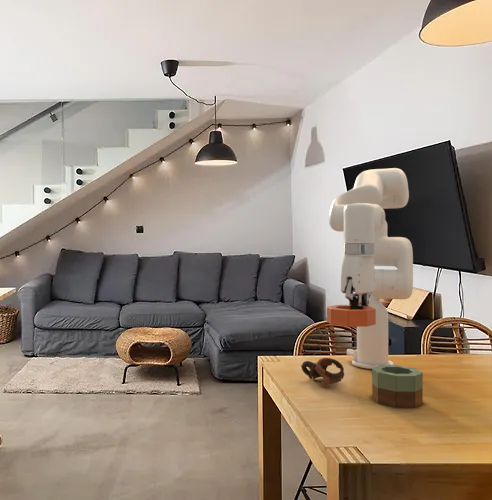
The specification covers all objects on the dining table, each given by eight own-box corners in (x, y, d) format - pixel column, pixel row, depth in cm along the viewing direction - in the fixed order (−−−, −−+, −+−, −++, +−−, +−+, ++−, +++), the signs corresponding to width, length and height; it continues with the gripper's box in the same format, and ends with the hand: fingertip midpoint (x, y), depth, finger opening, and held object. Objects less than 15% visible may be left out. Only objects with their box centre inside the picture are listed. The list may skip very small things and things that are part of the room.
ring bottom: (366, 400, 139) (366, 385, 139) (385, 391, 146) (385, 377, 146) (409, 410, 131) (409, 394, 131) (428, 401, 138) (428, 385, 138)
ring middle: (366, 385, 139) (365, 370, 139) (385, 377, 146) (385, 362, 146) (409, 394, 131) (409, 378, 131) (428, 385, 138) (428, 370, 138)
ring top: (319, 323, 138) (319, 307, 138) (341, 318, 146) (341, 303, 145) (360, 328, 130) (360, 311, 130) (381, 322, 137) (381, 307, 137)
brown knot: (340, 380, 160) (347, 360, 155) (337, 402, 152) (345, 381, 148) (299, 367, 163) (306, 347, 159) (295, 388, 156) (301, 368, 151)
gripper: (360, 249, 148) (360, 315, 149) (329, 251, 138) (330, 322, 138) (387, 249, 142) (387, 318, 143) (357, 251, 132) (357, 325, 133)
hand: (359, 319), depth 141 cm, fingers closed on ring top, 2 cm apart
